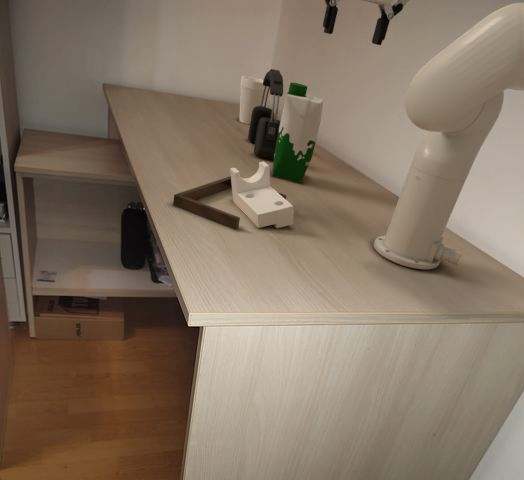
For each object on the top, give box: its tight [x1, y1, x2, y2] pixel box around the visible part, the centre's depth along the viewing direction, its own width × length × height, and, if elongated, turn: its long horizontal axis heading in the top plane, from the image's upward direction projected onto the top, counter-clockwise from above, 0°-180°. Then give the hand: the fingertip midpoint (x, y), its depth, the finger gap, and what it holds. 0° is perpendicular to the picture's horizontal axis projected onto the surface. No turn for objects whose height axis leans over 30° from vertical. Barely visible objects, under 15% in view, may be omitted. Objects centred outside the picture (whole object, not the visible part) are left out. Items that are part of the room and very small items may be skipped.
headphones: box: [247, 68, 284, 160], centre depth 132 cm, size 22×6×20 cm, turn 8°
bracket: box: [229, 161, 294, 229], centre depth 93 cm, size 13×7×8 cm, turn 24°
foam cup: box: [238, 75, 269, 125], centre depth 162 cm, size 10×9×13 cm
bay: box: [172, 175, 287, 230], centre depth 96 cm, size 14×21×2 cm, turn 153°
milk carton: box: [271, 82, 324, 184], centre depth 115 cm, size 9×9×20 cm
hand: (352, 38), depth 89 cm, fingers open, 9 cm apart
